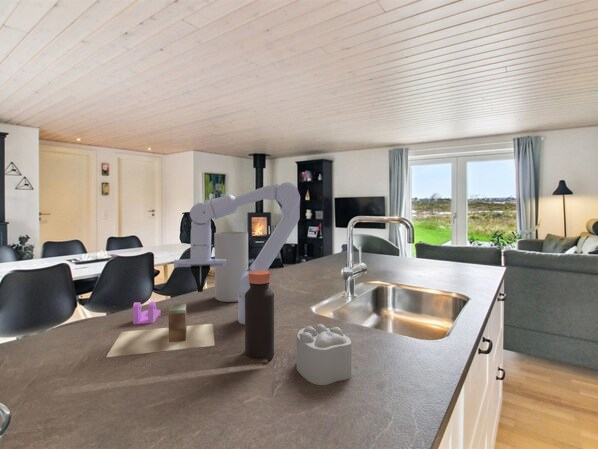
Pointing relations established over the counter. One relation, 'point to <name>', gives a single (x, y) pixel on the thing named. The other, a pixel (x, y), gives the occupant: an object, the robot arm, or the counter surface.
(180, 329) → the walnut block
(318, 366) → the lumpy-topped squat cylinder
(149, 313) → the bracket
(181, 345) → the birch board
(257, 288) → the bottle
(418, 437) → the counter surface
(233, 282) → the cylinder vase
